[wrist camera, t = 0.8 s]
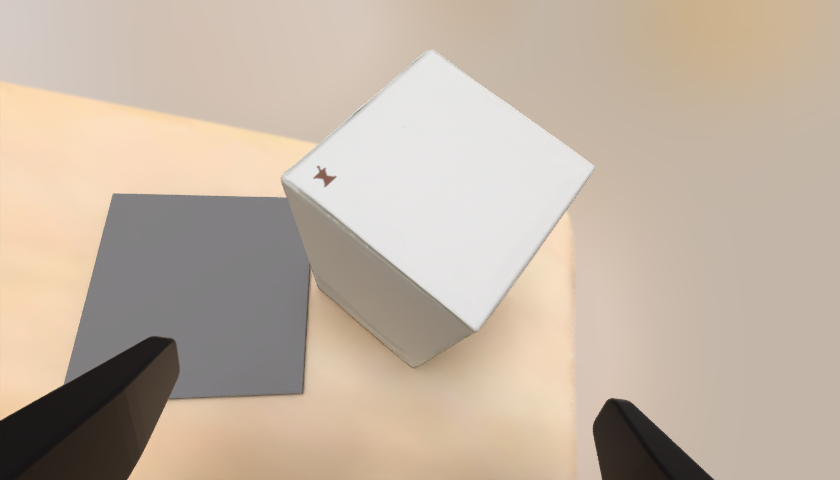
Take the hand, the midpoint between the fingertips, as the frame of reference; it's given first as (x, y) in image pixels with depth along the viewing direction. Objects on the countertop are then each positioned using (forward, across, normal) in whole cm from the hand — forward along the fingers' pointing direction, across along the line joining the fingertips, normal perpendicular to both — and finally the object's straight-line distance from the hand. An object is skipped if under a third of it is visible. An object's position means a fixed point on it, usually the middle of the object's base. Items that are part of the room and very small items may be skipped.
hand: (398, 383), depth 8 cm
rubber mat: (+12, +10, +8) cm, 18 cm away
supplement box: (+14, -1, +7) cm, 16 cm away
